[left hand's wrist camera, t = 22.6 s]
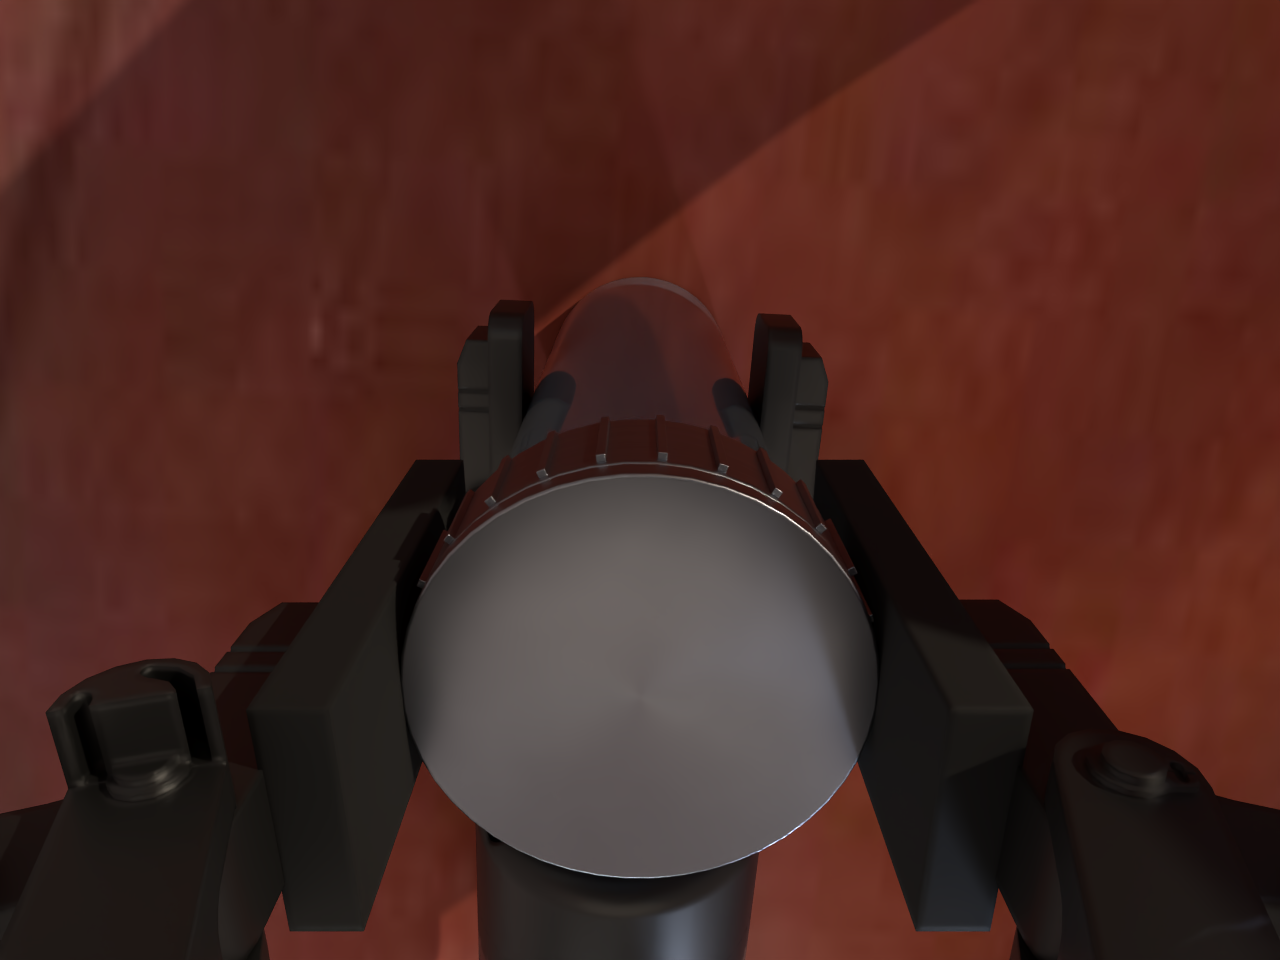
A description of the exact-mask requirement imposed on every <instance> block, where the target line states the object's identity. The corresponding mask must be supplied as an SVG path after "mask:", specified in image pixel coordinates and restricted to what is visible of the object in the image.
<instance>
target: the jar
mask: <svg viewBox="0 0 1280 960" xmlns="http://www.w3.org/2000/svg"><path fill="white" fill-rule="evenodd" d="M656 415H664V416H665V421H670V422H678V423H685V424H689V425H693V426H697V427H700V428H704V429H708V430H709V428H710V426H711V425H712V426H715V427H718V428H719V432H720V434H722V435H724V436H727V437H729V438H732V439H734V440H737V441H739V442H741V443H743V444H744V445H746V446H748V447H750V448H752V449H753V450H755V451H757V450H758V449H759V448H760V447H761V448H763V449H764V450H766V451H767V454H768V456H769V459H770V461H772V462H773V460H772V457H771V455H770V452H769V450H768V447H767V445H766V442H765V440H764V438H763V435H762V433H761V430H760V428H759V425H758V423H757V420H756V418H755V415H754V413H753V410H752V408H751V406H750V403H749V401H748V398H747V396H746V393H745V391H744V388H743V386H742V383H741V381H740V378H739V376H738V374H737V371H736V369H735V366H734V364H733V361H732V359H731V356H730V354H729V351H728V349H727V346H726V344H725V342H724V339H723V337H722V334H721V332H720V329H719V327H718V325H717V323H716V321H715V319H714V318H713V316H712V315H711V313H710V312H709V311H708V309H707V308H706V307H705V306H704V305H703V304H702V303H701V302H700V301H699V300H698V299H697V298H696V297H695V296H693V295H692V294H691V293H689V292H688V291H686V290H684V289H683V288H681V287H679V286H677V285H675V284H672V283H670V282H667V281H663V280H660V279H655V278H647V277H632V278H625V279H620V280H616V281H613V282H610V283H607V284H605V285H603V286H600V287H598V288H597V289H595V290H593V291H592V292H590V293H589V294H588V295H586V296H585V297H584V298H583V299H581V300H580V301H579V302H578V303H577V304H576V305H575V306H574V308H573V309H572V310H571V311H570V313H569V314H568V316H567V317H566V319H565V320H564V322H563V324H562V326H561V328H560V331H559V333H558V335H557V338H556V340H555V343H554V345H553V348H552V350H551V353H550V355H549V358H548V360H547V363H546V365H545V368H544V370H543V372H542V375H541V377H540V380H539V382H538V385H537V387H536V390H535V392H534V395H533V397H532V400H531V402H530V405H529V407H528V410H527V412H526V414H525V417H524V419H523V422H522V424H521V427H520V429H519V432H518V434H517V437H516V439H515V442H514V444H513V447H512V449H511V451H510V454H509V456H510V458H511V459H512V458H514V457H515V456H516V455H518V454H519V453H521V452H523V451H525V450H527V449H528V448H530V447H532V446H534V445H536V444H537V443H539V442H541V441H543V440H545V439H546V438H547V435H548V433H549V432H551V431H554V430H556V432H557V434H560V433H563V432H566V431H568V430H571V429H575V428H579V427H583V426H587V425H591V424H595V423H600V419H601V417H609V420H610V421H618V420H626V419H641V420H656ZM773 463H774V462H773Z"/></svg>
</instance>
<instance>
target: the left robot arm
mask: <svg viewBox="0 0 1280 960" xmlns="http://www.w3.org/2000/svg"><path fill="white" fill-rule="evenodd" d="M465 495H466V487H465V474H464V462H463V460H416V461H415V462H414V464H413V465H412V467H411V468H410V470H409V471H408V473H407V474H406V476H405V477H404V478H403V480H402V481H401V483H400V484H399V486H398V487H397V489H396V490H395V492H394V493H393V495H392V496H391V498H390V499H389V501H388V502H387V503H386V505H385V506H384V508H383V509H382V511H381V512H380V514H379V515H378V517H377V518H376V520H375V521H374V523H373V524H372V525H371V527H370V528H369V530H368V531H367V533H366V534H365V536H364V537H363V539H362V540H361V542H360V543H359V545H358V546H357V547H356V549H355V550H354V552H353V553H352V555H351V556H350V558H349V559H348V561H347V562H346V564H345V565H344V567H343V568H342V570H341V571H340V572H339V574H338V575H337V577H336V578H335V580H334V581H333V583H332V584H331V586H330V587H329V589H328V590H327V592H326V593H325V594H324V596H323V597H322V599H321V600H320V602H319V603H281V604H279V605H277V606H276V607H274V608H273V609H271V610H270V611H268V612H267V613H265V614H263V615H262V616H260V617H259V618H257V619H256V620H254V621H252V622H251V623H250V624H249V625H248V626H247V627H246V629H245V630H244V631H243V632H242V634H241V635H240V636H239V637H238V639H237V640H236V641H235V643H234V644H233V645H232V646H231V652H227V653H226V654H225V655H224V656H223V658H222V659H221V660H220V661H219V663H218V664H217V665H216V666H215V672H211V673H209V672H208V671H206V670H205V669H204V668H203V667H201V666H200V665H199V664H197V663H195V662H190V661H185V660H180V659H175V658H170V659H150V660H143V661H138V662H134V663H130V664H125V665H121V666H117V667H114V668H111V669H109V670H106V671H104V672H102V673H99V674H97V675H94V676H92V677H89V678H87V679H85V680H83V681H82V682H80V683H79V684H77V685H76V686H74V687H72V688H71V689H69V690H68V691H66V692H65V693H63V694H62V695H60V697H59V698H58V699H57V700H56V701H55V702H54V703H53V705H52V706H51V707H50V708H49V709H48V710H47V711H46V716H47V719H48V722H49V726H50V729H51V732H52V736H53V739H54V742H55V746H56V749H57V752H58V756H59V759H60V762H61V766H62V769H63V772H64V776H65V779H66V782H67V786H68V791H67V793H66V795H65V797H64V799H63V800H59V801H56V802H52V803H48V804H44V805H39V806H35V807H30V808H25V809H21V810H16V811H11V812H6V813H2V814H0V960H270V959H269V952H268V946H267V941H266V936H265V932H264V927H265V925H266V923H267V921H268V919H269V917H270V915H271V912H272V910H273V908H274V906H275V904H276V902H277V900H278V898H279V895H280V893H281V891H282V894H283V899H284V904H285V909H286V914H287V919H288V924H289V930H290V931H364V929H365V926H366V923H367V920H368V917H369V914H370V911H371V909H372V906H373V903H374V900H375V897H376V894H377V891H378V888H379V885H380V883H381V880H382V877H383V874H384V871H385V868H386V865H387V862H388V859H389V856H390V854H391V851H392V848H393V845H394V842H395V839H396V836H397V833H398V830H399V827H400V825H401V822H402V819H403V816H404V813H405V810H406V807H407V804H408V801H409V799H410V796H411V793H412V790H413V787H414V784H415V781H416V778H417V775H418V772H419V770H420V767H421V764H422V759H421V757H420V755H419V753H418V750H417V748H416V746H415V744H414V741H413V739H412V737H411V734H410V731H409V727H408V723H407V720H406V716H405V712H404V707H403V699H402V691H401V679H400V672H401V653H402V648H403V643H404V638H405V633H406V628H407V625H408V623H409V620H410V617H411V614H412V612H413V609H414V606H415V604H416V601H417V599H418V597H419V595H420V593H421V591H422V588H419V587H417V583H418V581H419V579H420V577H421V575H422V573H423V571H424V569H425V567H426V564H427V562H428V560H429V558H430V556H431V554H432V552H433V550H434V548H435V546H436V544H437V542H438V540H439V538H440V536H441V534H442V532H443V530H446V531H448V530H449V528H450V526H451V524H452V522H453V520H454V517H455V515H456V513H457V511H458V509H459V507H460V505H461V503H462V501H463V499H464V497H465ZM813 501H814V503H815V505H816V507H817V509H818V510H819V512H820V514H821V516H822V517H823V519H824V521H826V520H828V519H831V520H832V522H833V524H834V526H835V528H836V530H837V532H838V534H839V536H840V538H841V540H842V542H843V544H844V546H845V548H846V550H847V552H848V555H849V557H850V559H851V561H852V563H853V565H854V567H855V569H856V571H857V574H856V575H854V577H855V579H856V581H857V583H858V585H859V587H860V589H861V591H862V593H863V595H864V598H865V600H866V602H867V604H868V606H869V608H870V610H871V612H872V614H873V618H874V622H872V626H873V628H874V633H875V638H876V643H877V649H878V654H879V688H878V696H877V705H876V712H875V716H874V719H873V723H872V727H871V730H870V734H869V737H868V739H867V741H866V743H865V746H864V748H863V750H862V752H861V755H860V757H859V759H858V761H857V762H858V765H859V767H860V770H861V773H862V776H863V779H864V782H865V785H866V788H867V791H868V794H869V796H870V799H871V802H872V805H873V808H874V811H875V814H876V817H877V820H878V823H879V825H880V828H881V831H882V834H883V837H884V840H885V843H886V846H887V849H888V852H889V854H890V857H891V860H892V863H893V866H894V869H895V872H896V875H897V878H898V880H899V883H900V886H901V889H902V892H903V895H904V898H905V901H906V904H907V907H908V909H909V912H910V915H911V918H912V921H913V924H914V927H915V930H916V931H990V928H991V923H992V918H993V913H994V908H995V903H996V898H997V893H998V888H999V890H1000V892H1001V894H1002V896H1003V898H1004V900H1005V902H1006V904H1007V906H1008V909H1009V911H1010V913H1011V915H1012V917H1013V919H1014V921H1015V923H1016V925H1017V927H1016V932H1015V936H1014V941H1013V946H1012V950H1011V955H1010V960H1280V810H1278V809H1273V808H1268V807H1263V806H1259V805H1254V804H1249V803H1244V802H1240V801H1235V800H1231V799H1227V798H1224V797H1220V796H1216V795H1215V794H1214V791H1213V789H1212V787H1211V786H1210V784H1209V783H1208V782H1207V780H1206V779H1205V778H1204V776H1203V775H1202V774H1201V772H1200V771H1199V770H1198V768H1196V767H1195V766H1194V765H1192V764H1191V763H1190V762H1188V761H1187V760H1186V759H1184V758H1183V757H1182V756H1180V755H1179V754H1178V753H1176V752H1175V751H1173V750H1171V749H1169V748H1167V747H1165V746H1162V745H1160V744H1158V743H1156V742H1154V741H1152V740H1150V739H1148V738H1145V737H1141V736H1137V735H1133V734H1130V733H1126V732H1122V731H1118V729H1117V728H1116V727H1115V726H1114V724H1113V723H1112V722H1111V721H1110V719H1109V718H1108V717H1107V716H1106V714H1105V713H1104V712H1103V711H1102V709H1101V708H1100V707H1099V706H1098V704H1097V703H1096V702H1095V701H1094V699H1093V698H1092V697H1091V696H1090V694H1089V693H1088V692H1087V691H1086V689H1085V688H1084V687H1083V686H1082V684H1081V683H1080V682H1079V681H1078V679H1077V678H1076V677H1075V676H1074V674H1073V673H1072V672H1071V671H1070V669H1066V668H1065V663H1064V662H1063V660H1062V659H1061V658H1060V657H1059V655H1058V654H1057V653H1056V652H1055V650H1054V649H1050V647H1049V643H1048V642H1047V640H1046V639H1045V638H1044V637H1043V635H1042V634H1041V633H1040V632H1039V630H1038V629H1037V628H1036V627H1035V625H1034V624H1033V623H1032V622H1031V620H1029V619H1028V618H1026V617H1024V616H1023V615H1021V614H1020V613H1018V612H1017V611H1015V610H1013V609H1012V608H1010V607H1009V606H1007V605H1006V604H1004V603H1002V602H1001V601H999V600H959V599H958V598H957V596H956V595H955V593H954V592H953V591H952V589H951V588H950V586H949V585H948V583H947V582H946V580H945V579H944V577H943V576H942V574H941V573H940V571H939V570H938V569H937V567H936V566H935V564H934V563H933V561H932V560H931V558H930V557H929V555H928V554H927V552H926V551H925V549H924V548H923V546H922V545H921V544H920V542H919V541H918V539H917V538H916V536H915V535H914V533H913V532H912V530H911V529H910V527H909V526H908V524H907V523H906V522H905V520H904V519H903V517H902V516H901V514H900V513H899V511H898V510H897V508H896V507H895V505H894V504H893V502H892V501H891V499H890V498H889V497H888V495H887V494H886V492H885V491H884V489H883V488H882V486H881V485H880V483H879V482H878V480H877V479H876V477H875V476H874V475H873V473H872V472H871V470H870V469H869V467H868V466H867V464H866V463H865V461H864V460H816V471H815V483H814V496H813Z"/></svg>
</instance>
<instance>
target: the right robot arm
mask: <svg viewBox="0 0 1280 960" xmlns="http://www.w3.org/2000/svg"><path fill="white" fill-rule="evenodd" d="M457 369H458V389H459V392H458V404H459V438H460V460H463V462H464V474H465V487H466V493H467V492H468V491H469V490H470V489H471V490H472V491H474V492H476V490H477V489H478V488H479V487H480V486H481V485H482V484H483V483H484V482H485V481H486V480H487V479H488V478H489V477H490V476H491V475H492V474H493V473H494V472H495V471H496V470H498V467H499V465H500V463H501V460H502V459H503V458H504V457H505V456H507V455H509V454H510V451H511V449H512V447H513V444H514V442H515V439H516V437H517V434H518V432H519V429H520V427H521V424H522V422H523V419H524V417H525V414H526V412H527V410H528V407H529V405H530V402H531V400H532V397H533V395H534V306H533V302H532V301H515V300H500V301H499V302H498V303H497V304H496V306H495V307H494V308H493V309H492V310H491V312H490V316H489V323H488V326H478V327H477V328H476V329H475V330H474V331H473V333H472V334H471V335H470V336H469V337H468V339H467V340H466V342H465V345H464V347H463V350H462V353H461V355H460V358H459V360H458V363H457ZM827 388H828V379H827V375H826V372H825V368H824V364H823V361H822V358H821V356H820V355H819V354H818V353H817V351H816V350H815V349H814V348H813V346H812V345H811V344H810V343H803V342H802V330H801V327H800V326H799V325H798V324H797V322H796V321H795V320H794V319H793V318H792V316H791V315H780V314H760V313H759V314H758V316H757V319H756V324H755V332H754V342H753V352H752V362H751V372H750V382H749V392H748V401H749V403H750V406H751V408H752V410H753V413H754V415H755V418H756V420H757V423H758V425H759V428H760V430H761V433H762V435H763V438H764V440H765V442H766V445H767V447H768V450H769V452H770V455H771V457H772V460H773V462H774V464H776V465H777V466H778V467H780V468H781V469H782V470H784V471H785V472H786V473H787V474H788V475H789V476H790V477H791V478H792V479H793V480H794V481H795V482H798V481H799V480H800V479H801V480H802V481H803V482H804V483H805V484H806V486H807V488H808V490H809V493H810V495H811V497H812V499H813V496H814V483H815V471H816V460H818V456H819V448H820V441H821V433H822V425H823V418H824V407H825V403H826V396H827ZM476 855H477V902H478V942H479V960H745V957H746V949H747V941H748V933H749V925H750V918H751V910H752V902H753V894H754V886H755V879H756V871H757V863H758V855H759V852H757V853H754V854H752V855H750V856H748V857H745V858H743V859H741V860H738V861H736V862H733V863H729V864H726V865H723V866H720V867H717V868H713V869H710V870H706V871H701V872H696V873H691V874H686V875H680V876H670V877H660V878H620V877H610V876H600V875H594V874H589V873H584V872H579V871H574V870H569V869H566V868H563V867H560V866H557V865H554V864H550V863H547V862H544V861H541V860H539V859H537V858H535V857H532V856H530V855H528V854H525V853H523V852H521V851H519V850H516V849H515V848H513V847H511V846H510V845H508V844H506V843H504V842H503V841H501V840H499V839H497V838H496V837H494V836H492V835H491V834H490V833H488V832H487V831H486V830H484V829H483V828H482V827H480V826H479V825H478V824H476Z"/></svg>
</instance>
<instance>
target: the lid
mask: <svg viewBox="0 0 1280 960" xmlns="http://www.w3.org/2000/svg"><path fill="white" fill-rule="evenodd" d="M856 574H857V571H856V569H855V567H854V565H853V563H852V561H851V559H850V557H849V555H848V552H847V550H846V548H845V546H844V544H843V542H842V540H841V538H840V536H839V534H838V532H837V530H836V528H835V526H834V524H833V522H832V520H831V519H828V520H826V521H824V519H823V517H822V516H821V514H820V512H819V510H818V509H817V507H816V505H815V503H814V501H813V499H812V497H811V495H810V493H809V490H808V488H807V486H806V484H805V483H804V482H803V481H802V480H801V479H800V480H799V481H798V482H795V481H794V480H793V479H792V478H791V477H790V476H789V475H788V474H787V473H786V472H785V471H784V470H782V469H781V468H780V467H778V466H777V465H776V464H774V463H773V462H772V461H770V459H769V456H768V454H767V451H766V450H764V449H763V448H761V447H760V448H759V449H758V450H757V451H755V450H753V449H752V448H750V447H748V446H746V445H744V444H743V443H741V442H739V441H737V440H734V439H732V438H729V437H727V436H724V435H722V434H720V432H719V428H718V427H715V426H712V425H711V426H710V428H709V430H708V429H704V428H700V427H697V426H693V425H689V424H685V423H678V422H670V421H665V416H664V415H656V420H641V419H626V420H618V421H610V420H609V417H601V419H600V423H595V424H591V425H587V426H583V427H579V428H575V429H571V430H568V431H566V432H563V433H560V434H557V432H556V430H554V431H551V432H549V433H548V435H547V438H546V439H545V440H543V441H541V442H539V443H537V444H536V445H534V446H532V447H530V448H528V449H527V450H525V451H523V452H521V453H519V454H518V455H516V456H515V457H514V458H512V459H511V458H510V456H509V455H507V456H505V457H504V458H503V459H502V460H501V463H500V465H499V467H498V470H496V471H495V472H494V473H493V474H492V475H491V476H490V477H489V478H488V479H487V480H486V481H485V482H484V483H483V484H482V485H481V486H480V487H479V488H478V489H477V490H476V492H474V491H472V490H471V489H470V490H469V491H468V492H467V493H466V495H465V497H464V499H463V501H462V503H461V505H460V507H459V509H458V511H457V513H456V515H455V517H454V520H453V522H452V524H451V526H450V528H449V530H448V531H446V530H443V532H442V534H441V536H440V538H439V540H438V542H437V544H436V546H435V548H434V550H433V552H432V554H431V556H430V558H429V560H428V562H427V564H426V567H425V569H424V571H423V573H422V575H421V577H420V579H419V581H418V583H417V587H419V588H422V591H421V593H420V595H419V597H418V599H417V601H416V604H415V606H414V609H413V612H412V614H411V617H410V620H409V623H408V625H407V628H406V633H405V638H404V643H403V648H402V653H401V672H400V679H401V691H402V699H403V707H404V712H405V716H406V720H407V723H408V727H409V731H410V734H411V737H412V739H413V741H414V744H415V746H416V748H417V750H418V753H419V755H420V757H421V759H422V761H423V762H424V764H425V766H426V767H427V769H428V770H429V772H430V774H431V775H432V777H433V779H434V780H435V782H436V783H437V784H438V785H439V786H440V788H441V789H442V790H443V791H444V793H445V794H446V795H447V796H448V797H449V799H450V800H451V801H452V802H453V803H454V804H455V805H456V806H457V807H458V808H459V809H460V810H461V811H462V812H463V813H465V814H466V815H467V816H468V817H469V818H470V819H471V820H472V821H473V822H475V823H476V824H478V825H479V826H480V827H482V828H483V829H484V830H486V831H487V832H488V833H490V834H491V835H492V836H494V837H496V838H497V839H499V840H501V841H503V842H504V843H506V844H508V845H510V846H511V847H513V848H515V849H516V850H519V851H521V852H523V853H525V854H528V855H530V856H532V857H535V858H537V859H539V860H541V861H544V862H547V863H550V864H554V865H557V866H560V867H563V868H566V869H569V870H574V871H579V872H584V873H589V874H594V875H600V876H610V877H620V878H660V877H670V876H680V875H686V874H691V873H696V872H701V871H706V870H710V869H713V868H717V867H720V866H723V865H726V864H729V863H733V862H736V861H738V860H741V859H743V858H745V857H748V856H750V855H752V854H754V853H757V852H759V851H761V850H763V849H765V848H767V847H769V846H770V845H772V844H774V843H776V842H777V841H779V840H781V839H783V838H784V837H786V836H787V835H789V834H790V833H791V832H793V831H794V830H796V829H797V828H798V827H800V826H801V825H802V824H804V823H805V822H806V821H808V820H809V819H810V818H811V817H812V816H813V815H814V814H815V813H816V812H817V811H818V810H820V809H821V808H822V807H823V806H824V805H825V804H826V803H827V802H828V801H829V800H830V798H831V797H832V796H833V795H834V794H835V792H836V791H837V790H838V789H839V788H840V786H841V785H842V784H843V783H844V781H845V780H846V778H847V777H848V775H849V773H850V772H851V770H852V769H853V767H854V765H855V764H856V762H857V761H858V759H859V757H860V755H861V752H862V750H863V748H864V746H865V743H866V741H867V739H868V737H869V734H870V730H871V727H872V723H873V719H874V716H875V712H876V705H877V696H878V688H879V654H878V649H877V643H876V638H875V633H874V628H873V626H872V622H874V618H873V614H872V612H871V610H870V608H869V606H868V604H867V602H866V600H865V598H864V595H863V593H862V591H861V589H860V587H859V585H858V583H857V581H856V579H855V577H854V575H856Z"/></svg>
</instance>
